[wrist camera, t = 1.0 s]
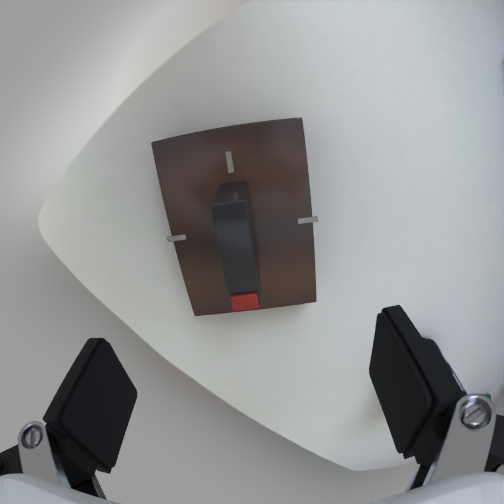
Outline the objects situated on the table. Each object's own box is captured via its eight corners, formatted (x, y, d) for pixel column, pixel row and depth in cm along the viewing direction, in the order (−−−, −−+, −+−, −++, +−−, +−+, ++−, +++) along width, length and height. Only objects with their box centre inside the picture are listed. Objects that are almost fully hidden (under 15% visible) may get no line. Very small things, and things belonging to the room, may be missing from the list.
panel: (159, 140, 20) (145, 143, 17) (299, 118, 19) (307, 116, 17) (196, 296, 26) (190, 317, 23) (314, 282, 25) (321, 302, 22)
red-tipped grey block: (219, 184, 19) (208, 206, 14) (246, 180, 19) (245, 201, 14) (235, 271, 21) (231, 314, 17) (259, 268, 21) (262, 311, 16)
